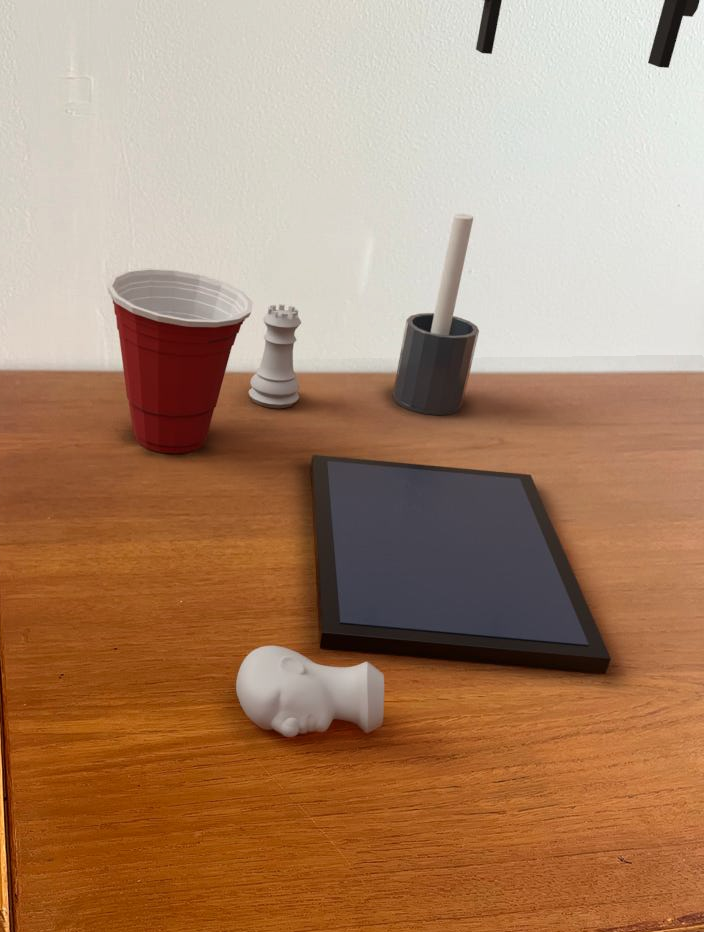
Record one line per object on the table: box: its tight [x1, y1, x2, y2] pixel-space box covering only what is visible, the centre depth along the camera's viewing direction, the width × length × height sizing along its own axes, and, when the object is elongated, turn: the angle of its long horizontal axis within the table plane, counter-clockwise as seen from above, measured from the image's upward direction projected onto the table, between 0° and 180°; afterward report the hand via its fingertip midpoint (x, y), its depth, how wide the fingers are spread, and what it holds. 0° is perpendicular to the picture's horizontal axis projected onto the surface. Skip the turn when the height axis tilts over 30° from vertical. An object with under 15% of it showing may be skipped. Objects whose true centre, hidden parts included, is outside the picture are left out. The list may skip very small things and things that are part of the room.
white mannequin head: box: [235, 645, 385, 738], centre depth 54 cm, size 4×8×5 cm
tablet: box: [309, 454, 612, 675], centre depth 70 cm, size 17×24×1 cm
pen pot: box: [392, 312, 480, 416], centre depth 91 cm, size 6×6×7 cm
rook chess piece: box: [248, 303, 302, 409], centre depth 89 cm, size 4×4×8 cm
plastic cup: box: [106, 268, 253, 454], centre depth 79 cm, size 11×11×12 cm
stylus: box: [431, 213, 474, 335], centre depth 89 cm, size 2×2×16 cm
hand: (570, 59), depth 80 cm, fingers open, 13 cm apart
